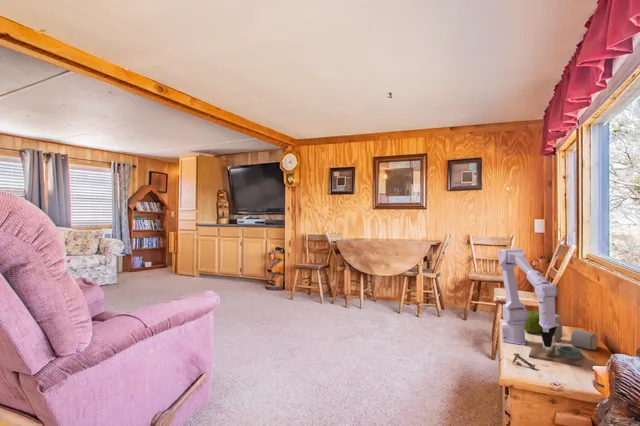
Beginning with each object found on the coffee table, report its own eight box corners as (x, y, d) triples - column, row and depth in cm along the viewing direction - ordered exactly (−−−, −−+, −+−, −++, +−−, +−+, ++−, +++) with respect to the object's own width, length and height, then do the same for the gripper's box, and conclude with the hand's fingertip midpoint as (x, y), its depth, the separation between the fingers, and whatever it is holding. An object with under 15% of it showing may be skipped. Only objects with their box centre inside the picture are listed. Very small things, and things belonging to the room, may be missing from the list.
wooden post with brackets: (511, 360, 146) (515, 351, 145) (531, 373, 140) (535, 364, 139) (509, 361, 145) (513, 352, 144) (529, 375, 139) (534, 365, 138)
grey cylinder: (592, 352, 153) (591, 334, 153) (570, 347, 160) (570, 330, 160) (602, 347, 159) (601, 330, 159) (581, 342, 166) (580, 326, 166)
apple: (519, 328, 189) (518, 307, 189) (542, 329, 186) (541, 308, 186) (525, 335, 178) (524, 313, 179) (550, 336, 175) (549, 313, 176)
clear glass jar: (542, 353, 148) (541, 336, 149) (543, 349, 152) (542, 333, 152) (554, 355, 146) (554, 338, 146) (555, 351, 149) (555, 335, 150)
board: (528, 357, 150) (528, 348, 150) (533, 347, 161) (533, 339, 161) (581, 366, 139) (581, 357, 139) (582, 355, 150) (582, 347, 150)
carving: (565, 343, 165) (563, 317, 166) (546, 341, 168) (545, 316, 168) (560, 338, 171) (559, 313, 172) (542, 337, 174) (541, 312, 174)
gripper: (556, 317, 141) (558, 352, 141) (559, 309, 153) (561, 341, 152) (536, 315, 145) (537, 348, 145) (540, 307, 157) (541, 338, 157)
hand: (548, 345), depth 149 cm, fingers closed on clear glass jar, 4 cm apart
